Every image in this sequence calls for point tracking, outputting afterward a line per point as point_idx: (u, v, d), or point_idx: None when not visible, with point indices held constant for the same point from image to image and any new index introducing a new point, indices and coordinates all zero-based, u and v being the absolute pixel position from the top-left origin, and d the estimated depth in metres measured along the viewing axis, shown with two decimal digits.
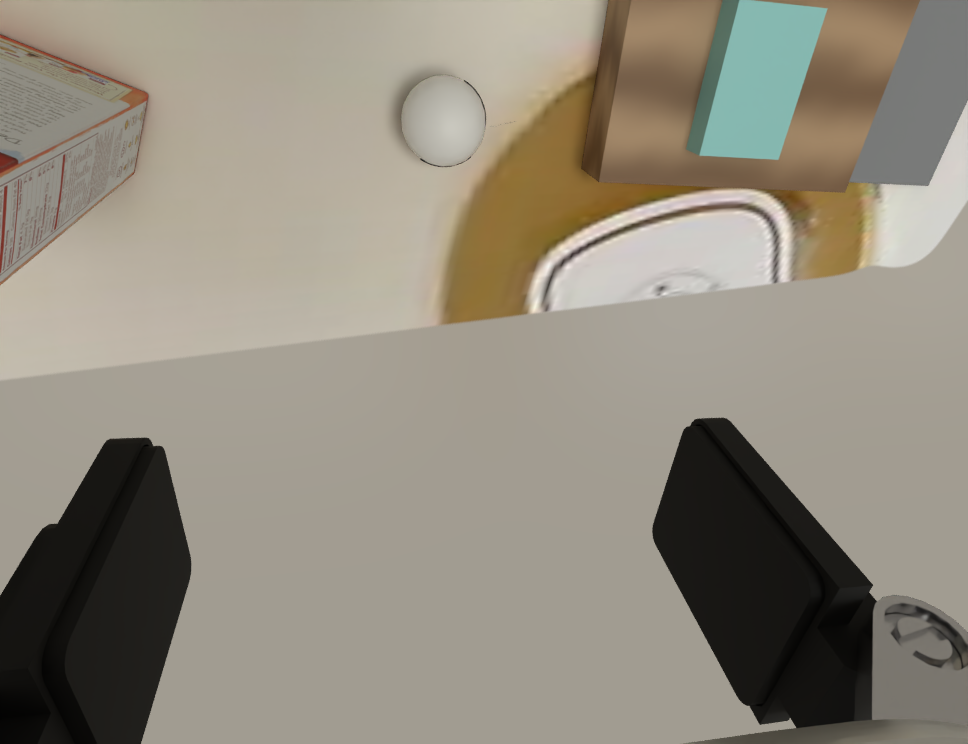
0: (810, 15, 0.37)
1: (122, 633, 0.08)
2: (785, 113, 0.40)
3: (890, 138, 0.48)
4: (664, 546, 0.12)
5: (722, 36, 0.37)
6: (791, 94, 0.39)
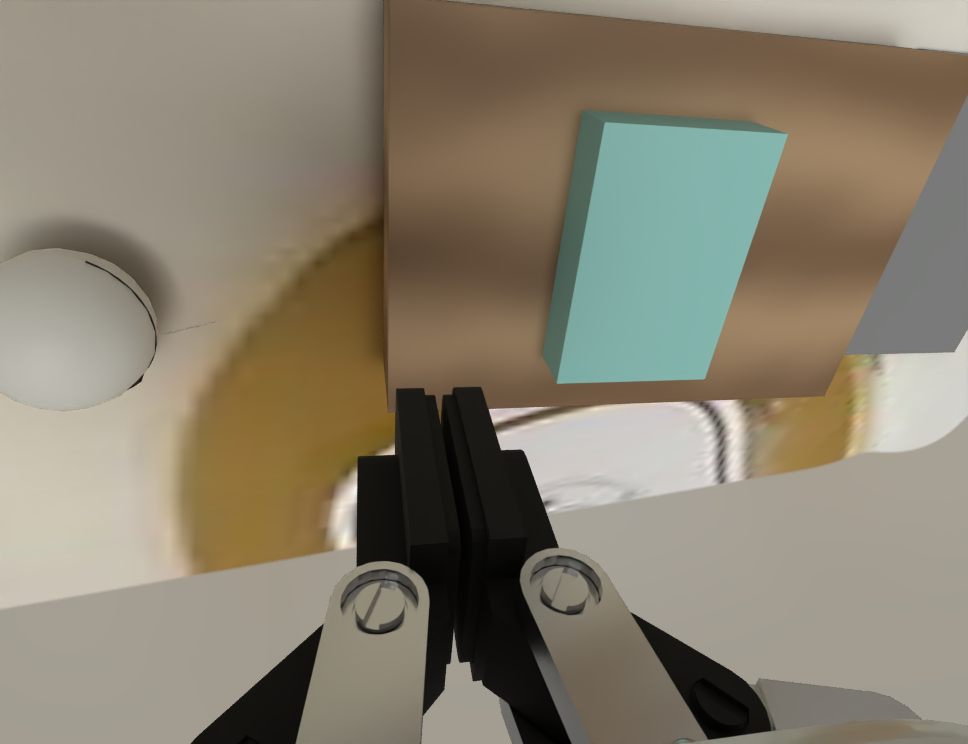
0: (754, 147, 0.18)
1: None
2: (713, 310, 0.21)
3: (898, 293, 0.30)
4: None
5: (582, 184, 0.19)
6: (723, 281, 0.21)
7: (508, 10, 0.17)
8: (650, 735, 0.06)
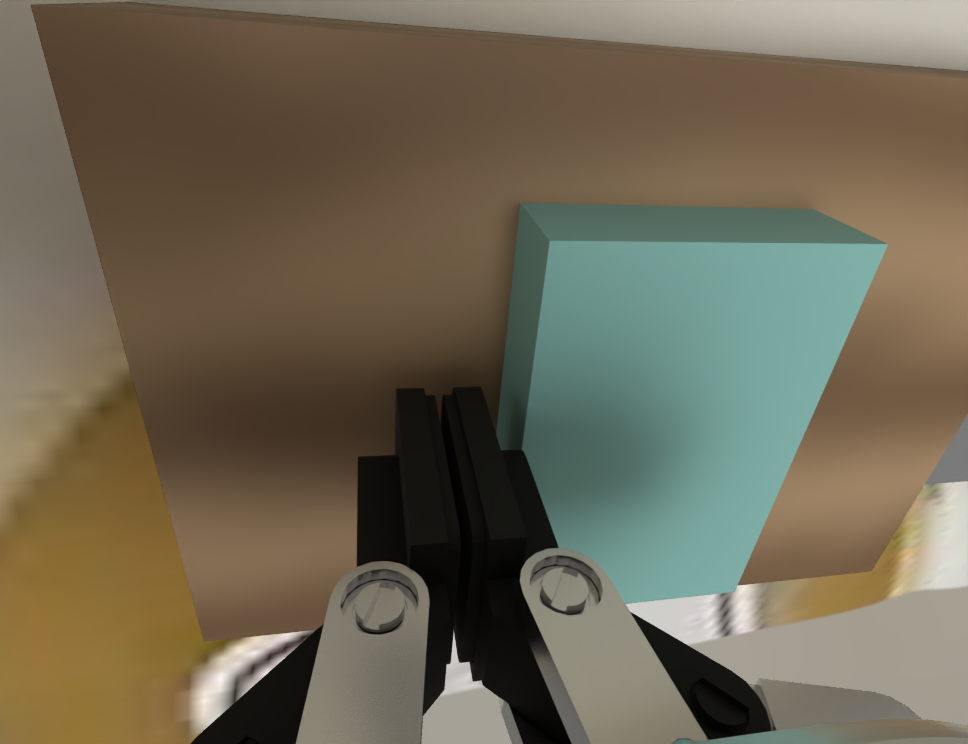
0: (826, 268, 0.10)
1: None
2: (749, 506, 0.13)
3: None
4: None
5: (521, 330, 0.11)
6: (765, 466, 0.13)
7: (287, 28, 0.09)
8: (650, 736, 0.06)
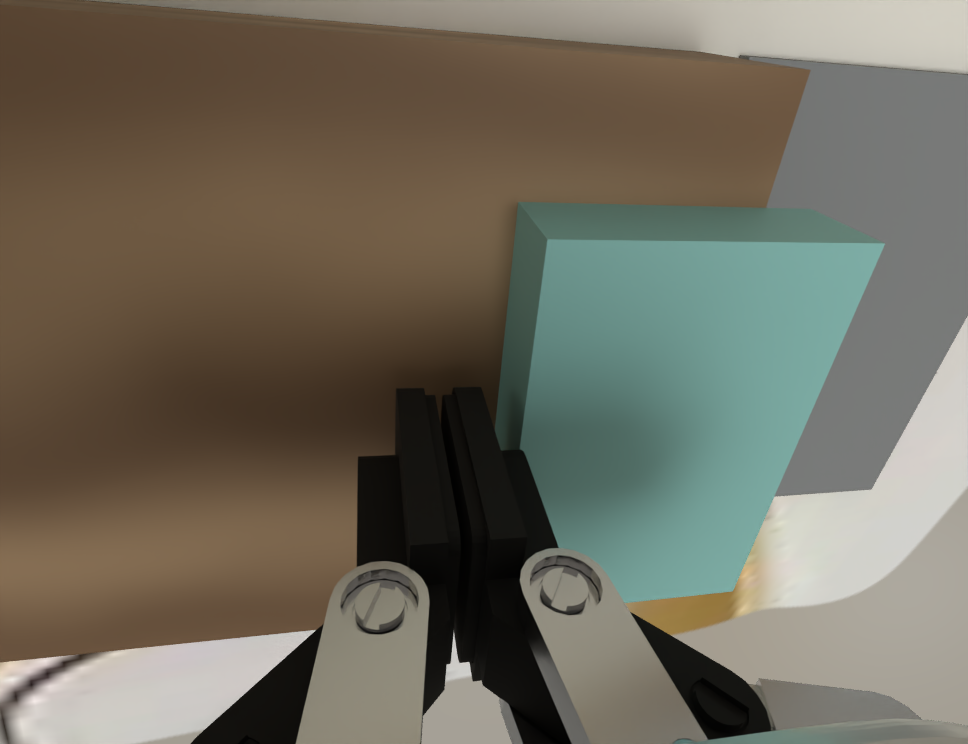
0: (823, 267, 0.10)
1: None
2: (747, 505, 0.13)
3: None
4: None
5: (519, 329, 0.11)
6: (763, 465, 0.13)
7: None
8: (651, 736, 0.06)
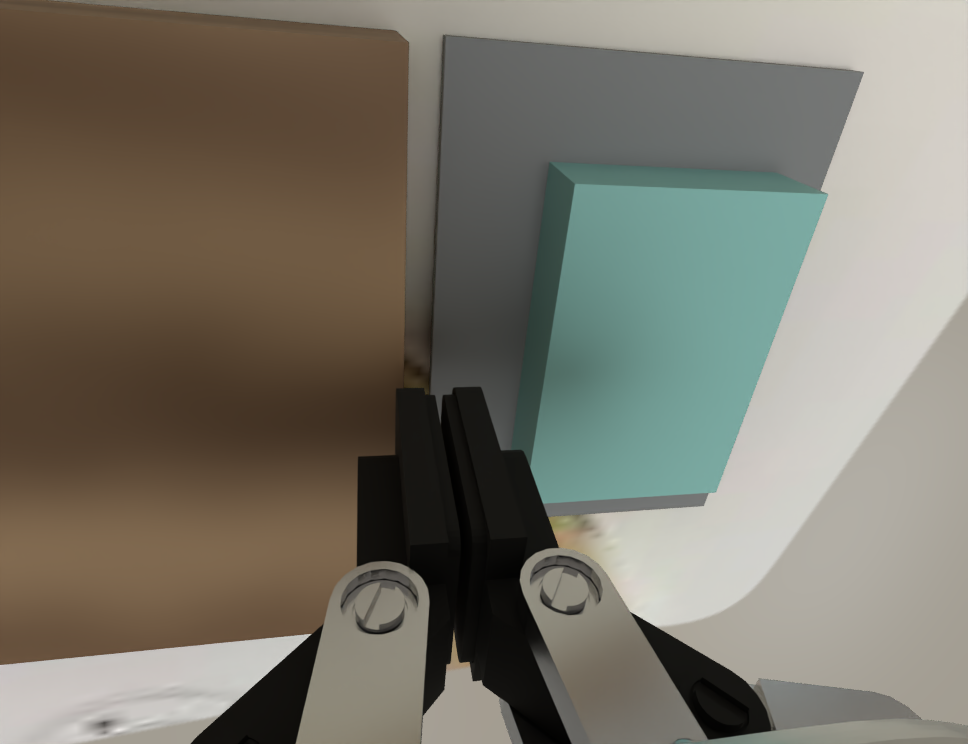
0: None
1: None
2: None
3: None
4: None
5: None
6: None
7: None
8: (650, 736, 0.06)
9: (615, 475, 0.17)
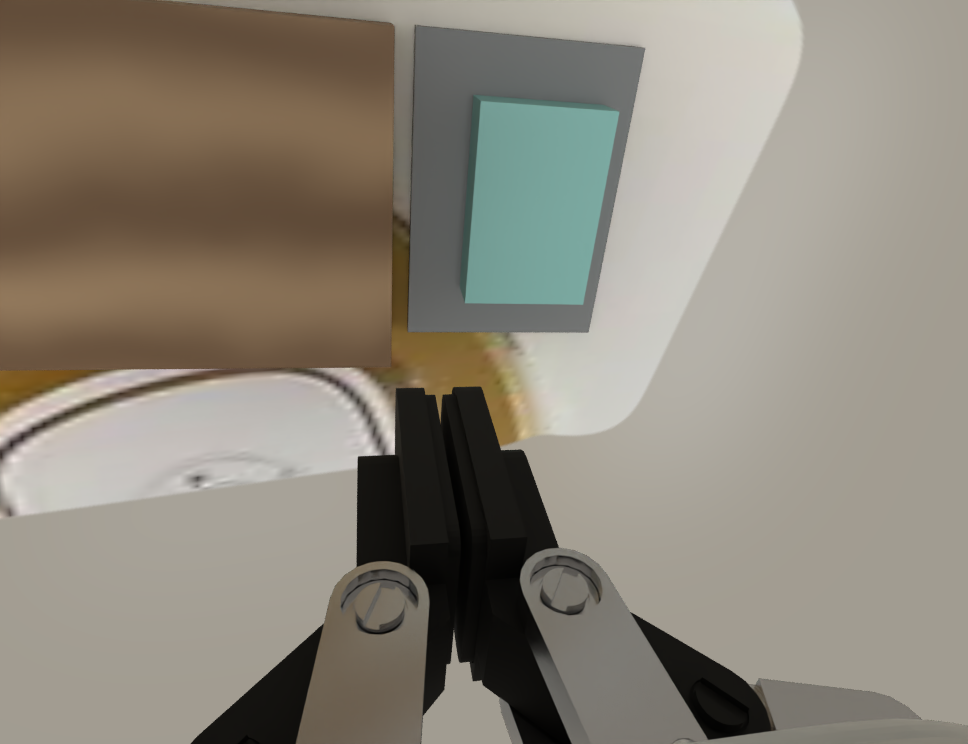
0: None
1: None
2: None
3: None
4: None
5: None
6: None
7: None
8: (650, 736, 0.06)
9: (519, 286, 0.29)
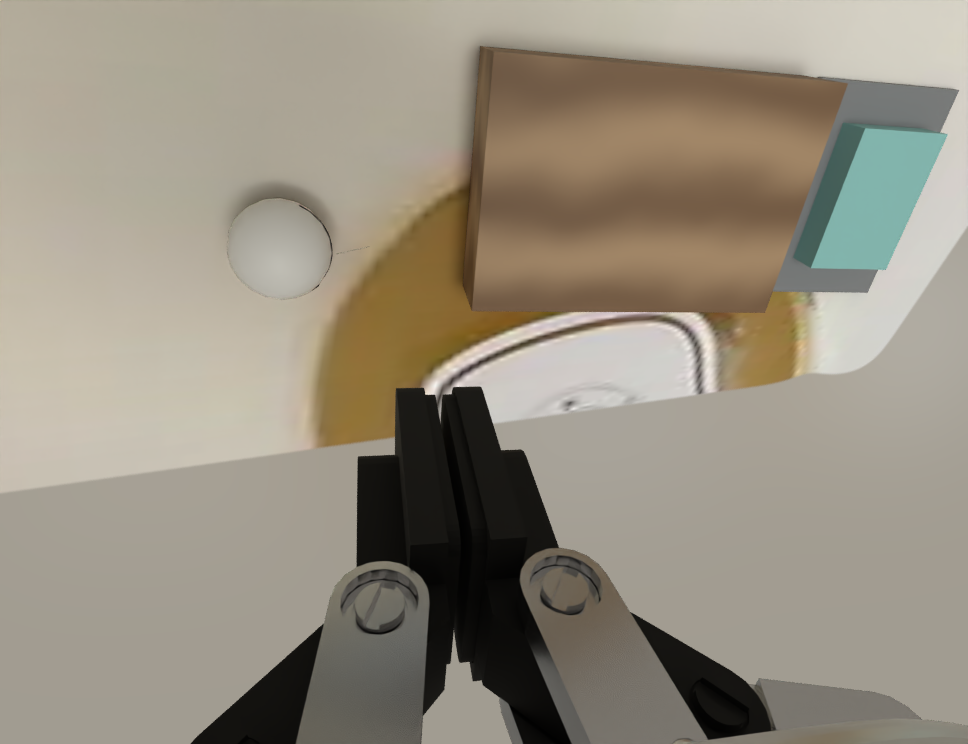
0: None
1: None
2: None
3: None
4: None
5: None
6: None
7: (558, 58, 0.30)
8: (651, 736, 0.06)
9: (849, 256, 0.41)
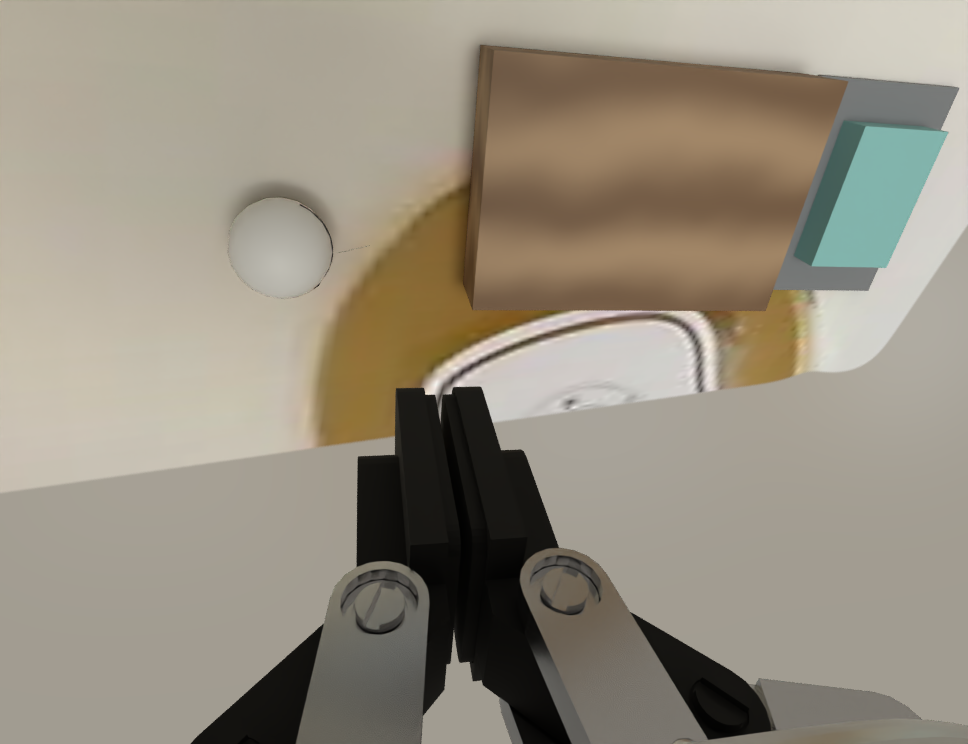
0: None
1: None
2: None
3: None
4: None
5: None
6: None
7: (559, 56, 0.30)
8: (650, 736, 0.06)
9: (849, 254, 0.41)
